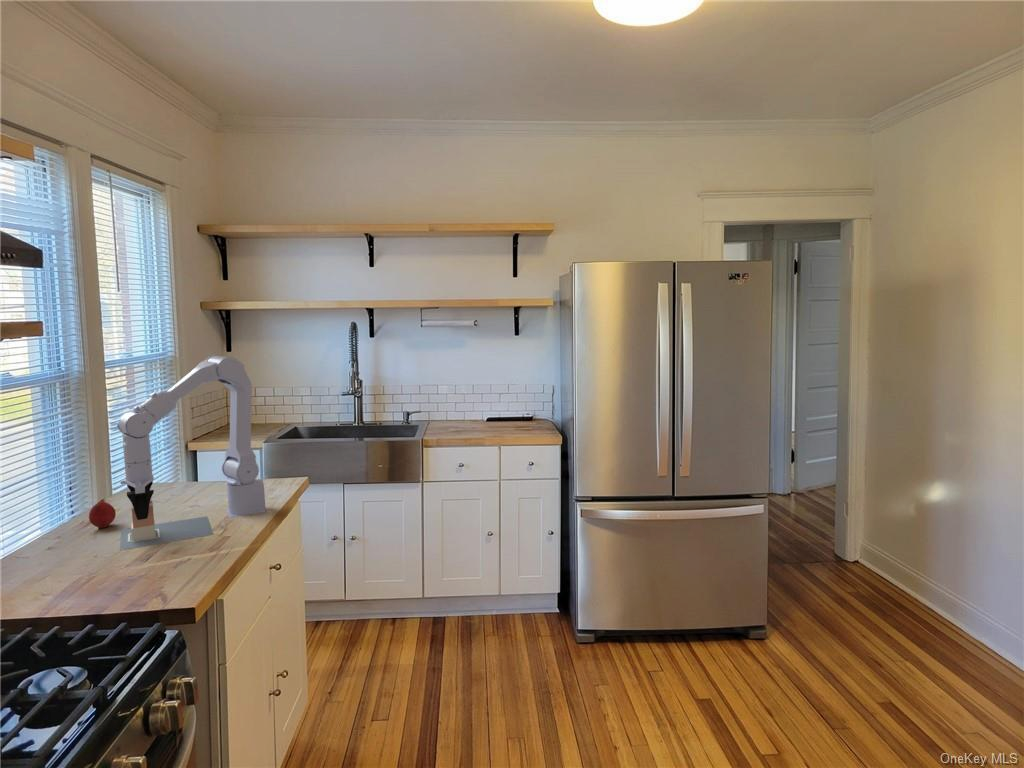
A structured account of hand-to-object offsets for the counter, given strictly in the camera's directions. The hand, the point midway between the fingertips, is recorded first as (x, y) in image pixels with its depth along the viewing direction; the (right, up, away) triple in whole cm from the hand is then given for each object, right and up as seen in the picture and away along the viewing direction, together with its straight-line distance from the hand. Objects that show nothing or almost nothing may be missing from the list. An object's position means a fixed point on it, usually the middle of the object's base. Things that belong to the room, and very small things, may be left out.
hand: (142, 514), depth 159 cm
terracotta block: (0, -2, 0) cm, 3 cm away
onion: (-14, -5, +7) cm, 17 cm away
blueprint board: (+4, -6, +3) cm, 8 cm away
